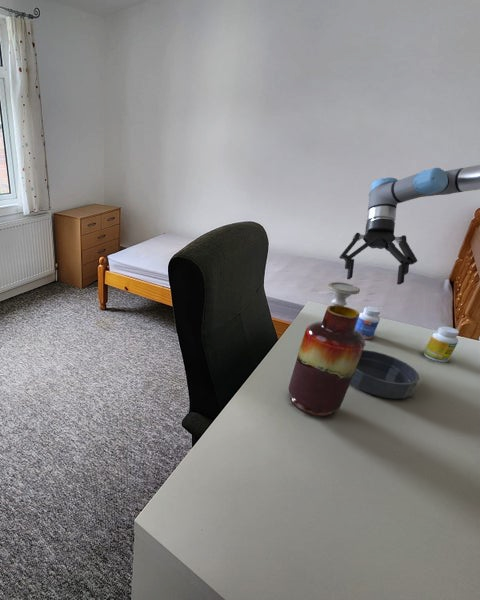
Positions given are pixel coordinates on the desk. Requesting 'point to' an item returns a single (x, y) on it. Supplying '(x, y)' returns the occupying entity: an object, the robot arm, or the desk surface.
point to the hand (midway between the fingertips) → (374, 280)
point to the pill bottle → (368, 322)
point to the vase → (326, 362)
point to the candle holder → (342, 292)
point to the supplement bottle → (442, 344)
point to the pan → (384, 376)
